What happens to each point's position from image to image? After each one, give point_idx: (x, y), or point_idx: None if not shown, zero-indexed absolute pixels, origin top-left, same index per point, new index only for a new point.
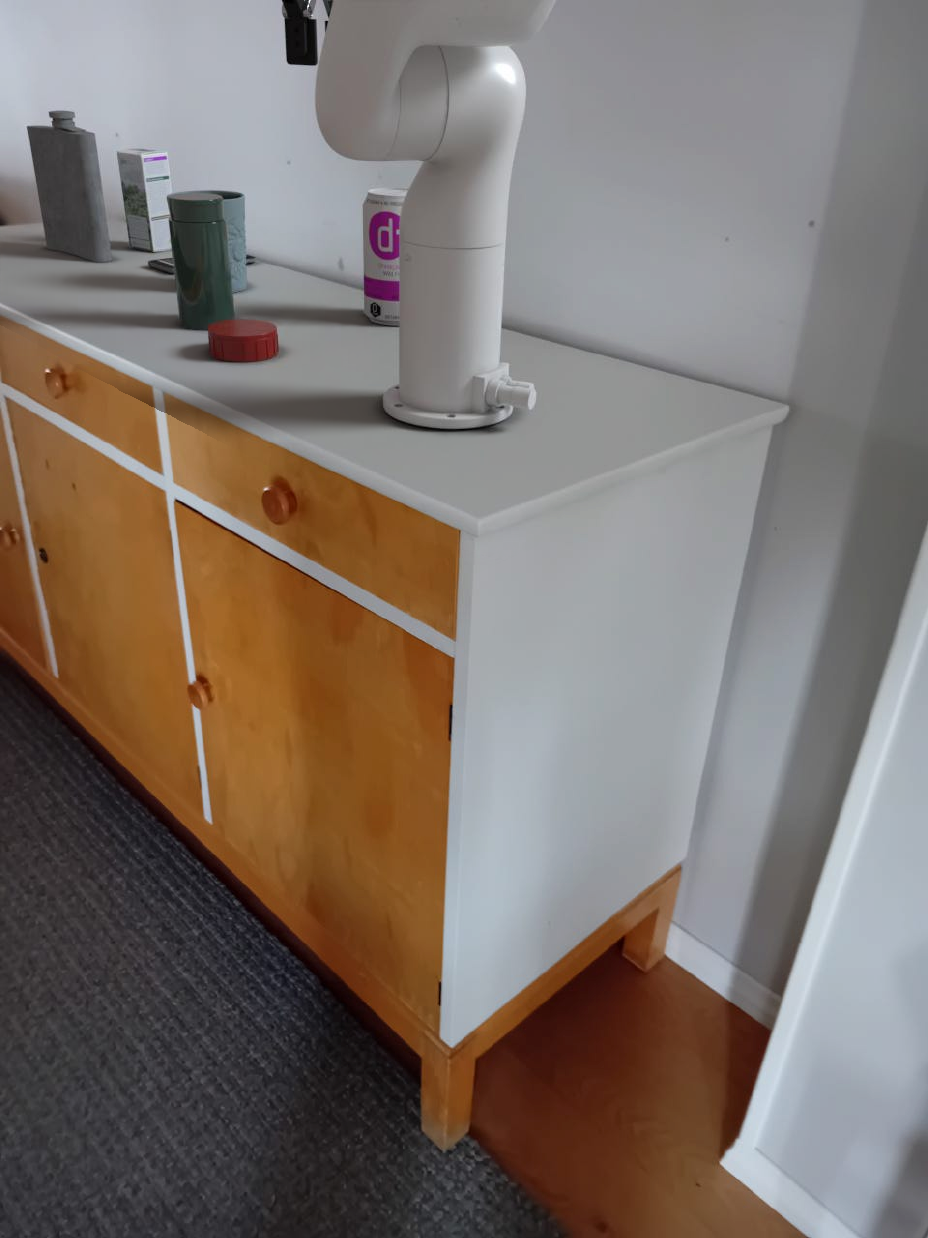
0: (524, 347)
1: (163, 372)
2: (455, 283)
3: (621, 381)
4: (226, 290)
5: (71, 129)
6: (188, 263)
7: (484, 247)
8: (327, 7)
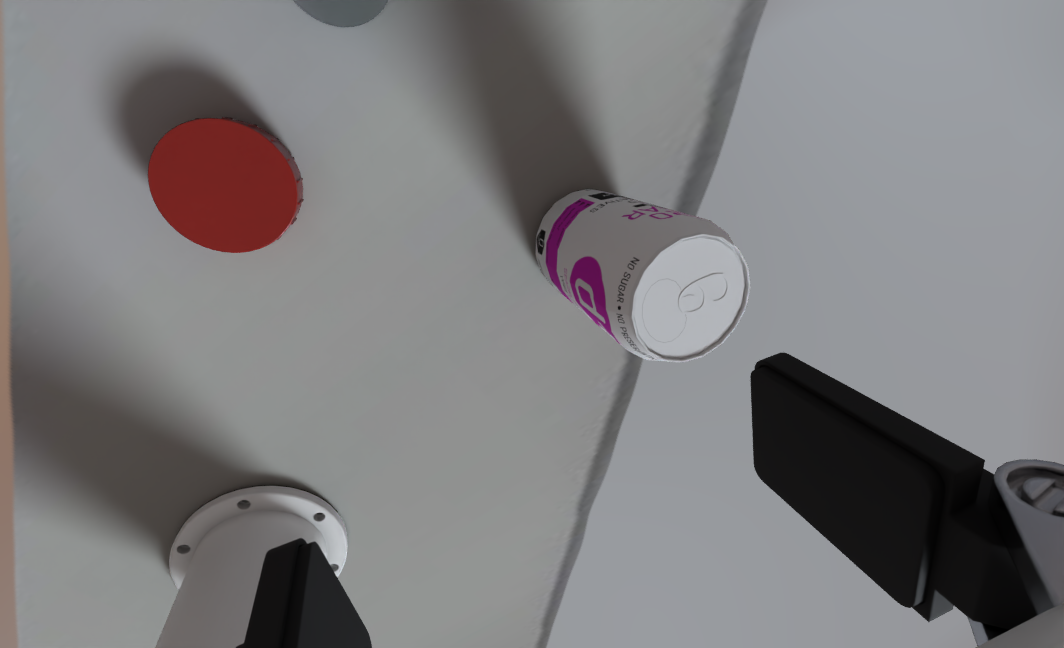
0: (553, 450)
1: (15, 155)
2: None
3: (495, 584)
4: (343, 12)
5: None
6: None
7: None
8: (1029, 579)
